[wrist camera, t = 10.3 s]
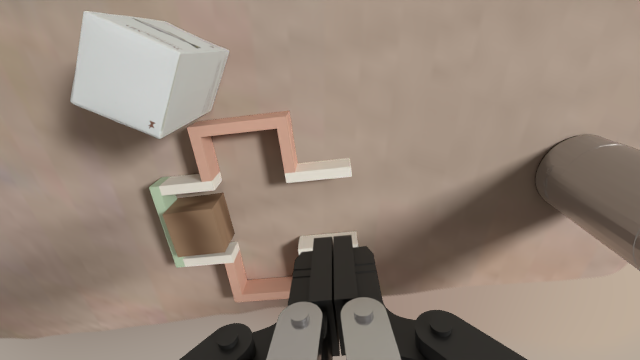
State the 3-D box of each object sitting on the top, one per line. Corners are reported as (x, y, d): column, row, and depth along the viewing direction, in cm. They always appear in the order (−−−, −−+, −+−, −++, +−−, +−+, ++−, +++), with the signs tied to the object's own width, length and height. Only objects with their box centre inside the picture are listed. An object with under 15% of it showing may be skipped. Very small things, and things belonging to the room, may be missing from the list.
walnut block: (223, 192, 43) (211, 208, 38) (234, 232, 45) (224, 252, 41) (178, 197, 43) (162, 214, 39) (192, 237, 45) (177, 257, 41)
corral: (344, 104, 38) (345, 109, 35) (360, 277, 47) (362, 292, 44) (144, 127, 39) (130, 134, 37) (197, 290, 48) (189, 305, 46)
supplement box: (232, 49, 36) (184, 53, 24) (211, 112, 39) (159, 143, 27) (164, 18, 35) (81, 6, 23) (148, 85, 38) (66, 104, 26)
